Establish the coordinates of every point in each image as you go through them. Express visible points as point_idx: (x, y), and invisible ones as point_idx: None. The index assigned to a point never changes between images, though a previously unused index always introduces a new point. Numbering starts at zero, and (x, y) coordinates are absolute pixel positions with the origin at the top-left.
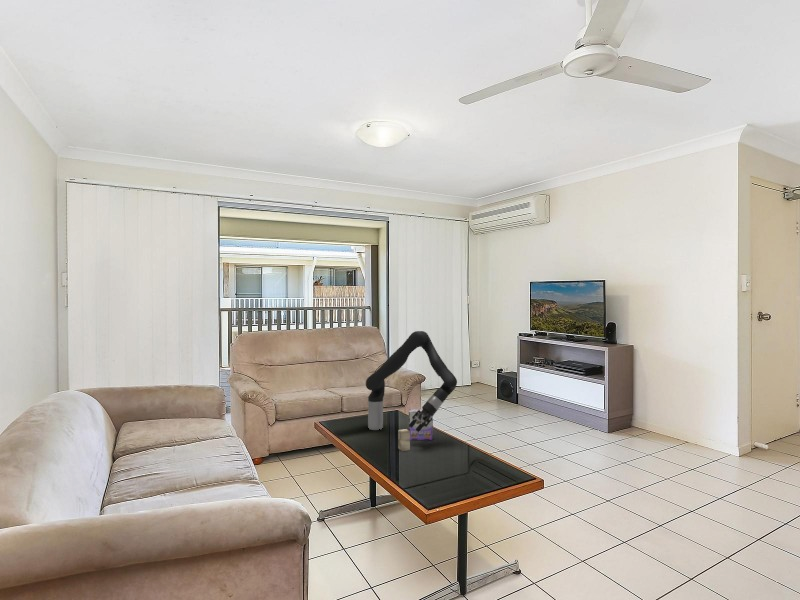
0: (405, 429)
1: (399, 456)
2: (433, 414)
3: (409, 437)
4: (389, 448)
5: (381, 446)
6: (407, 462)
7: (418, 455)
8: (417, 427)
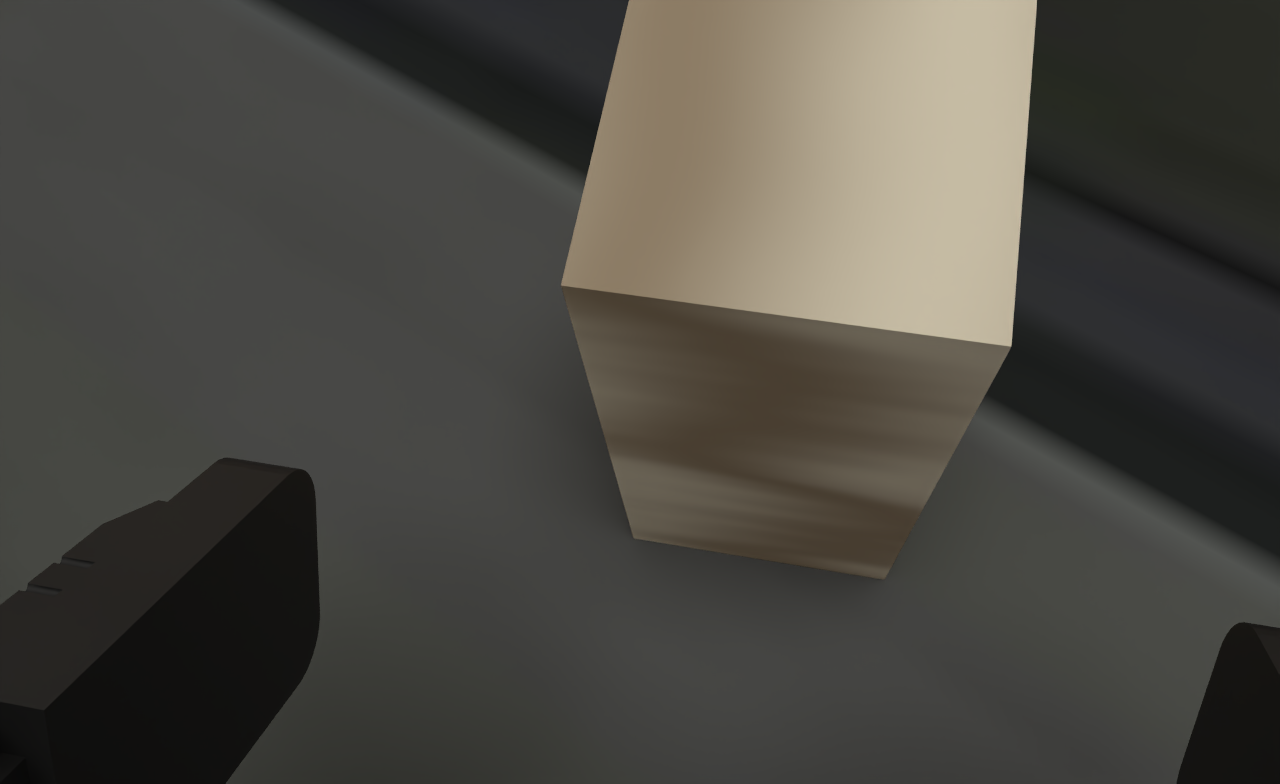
0: (949, 271)
1: (410, 99)
2: None
3: (596, 387)
4: (1031, 173)
5: (1275, 89)
6: (26, 62)
7: (157, 487)
8: (178, 520)
